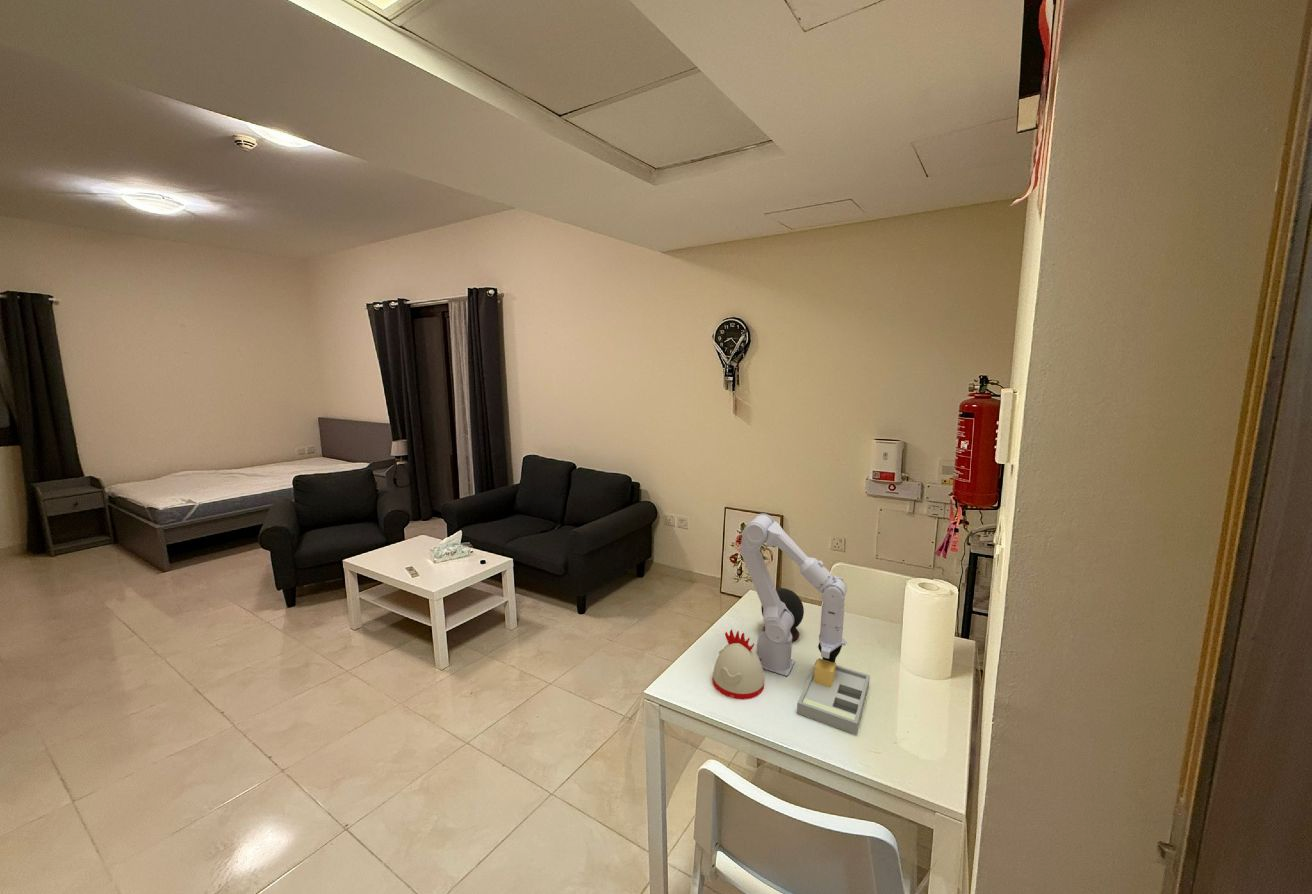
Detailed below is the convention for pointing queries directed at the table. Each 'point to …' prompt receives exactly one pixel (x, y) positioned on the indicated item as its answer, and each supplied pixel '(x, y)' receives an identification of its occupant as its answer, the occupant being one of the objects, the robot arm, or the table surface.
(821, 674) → the block
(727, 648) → the kitchen timer
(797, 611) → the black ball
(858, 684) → the box
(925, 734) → the table surface
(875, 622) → the table surface
